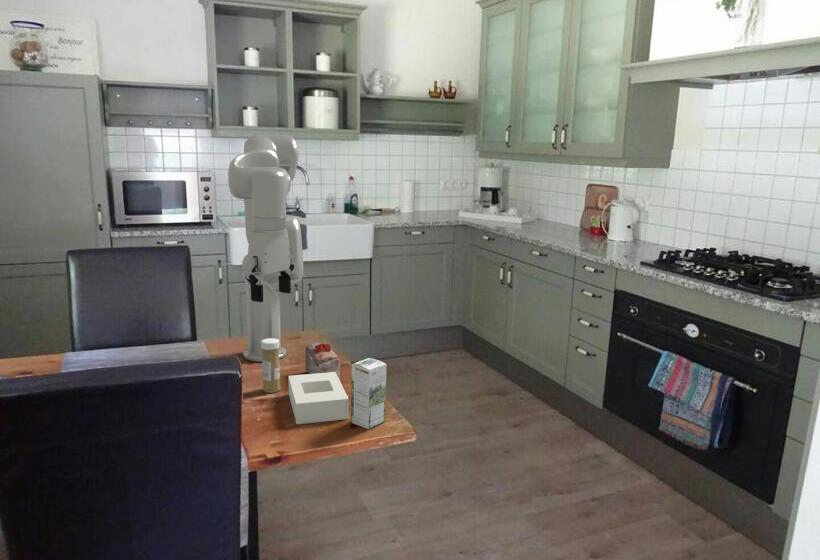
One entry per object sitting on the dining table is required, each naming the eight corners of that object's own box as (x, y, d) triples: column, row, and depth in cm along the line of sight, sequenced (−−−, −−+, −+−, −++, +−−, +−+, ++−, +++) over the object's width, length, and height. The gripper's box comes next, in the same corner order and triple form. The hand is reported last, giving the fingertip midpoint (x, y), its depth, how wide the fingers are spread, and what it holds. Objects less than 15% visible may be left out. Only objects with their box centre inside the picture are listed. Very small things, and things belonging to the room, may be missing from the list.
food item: (344, 385, 163) (343, 350, 161) (315, 389, 160) (314, 353, 158) (327, 368, 175) (327, 335, 173) (300, 372, 172) (299, 338, 170)
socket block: (288, 394, 156) (288, 375, 155) (335, 390, 160) (335, 371, 159) (296, 424, 139) (296, 403, 138) (348, 418, 143) (348, 398, 142)
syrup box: (367, 415, 145) (367, 356, 142) (386, 422, 141) (386, 362, 138) (350, 422, 141) (350, 362, 138) (369, 430, 137) (369, 369, 134)
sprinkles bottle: (283, 391, 158) (282, 341, 156) (266, 394, 156) (264, 344, 153) (276, 385, 162) (275, 336, 159) (259, 388, 160) (258, 339, 157)
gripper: (281, 219, 150) (282, 287, 153) (229, 226, 135) (232, 302, 138) (306, 221, 146) (307, 291, 150) (256, 229, 131) (258, 307, 135)
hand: (271, 296), depth 144 cm, fingers open, 9 cm apart
